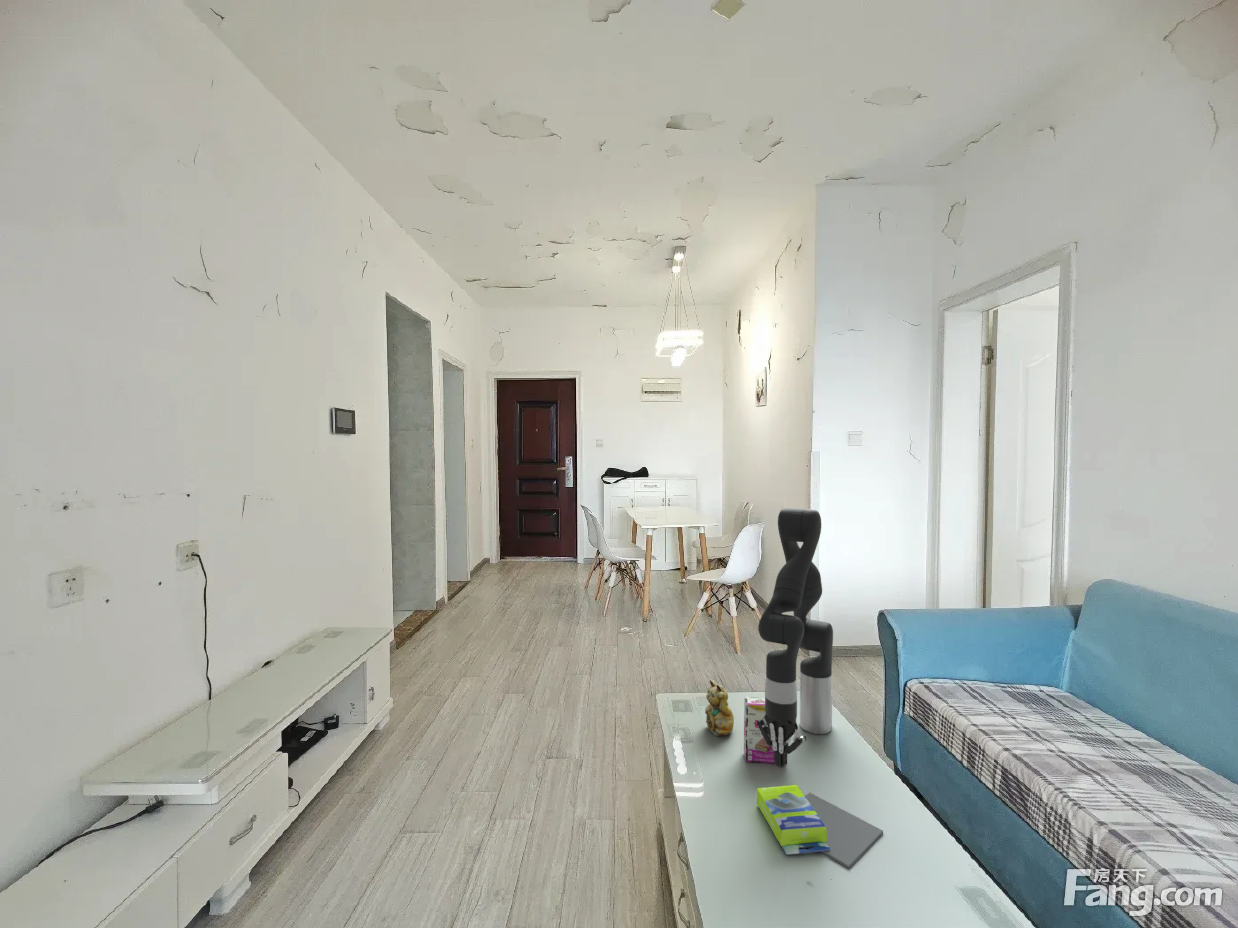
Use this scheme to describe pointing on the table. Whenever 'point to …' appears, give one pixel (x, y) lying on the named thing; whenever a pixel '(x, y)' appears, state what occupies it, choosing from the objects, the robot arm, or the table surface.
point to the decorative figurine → (718, 711)
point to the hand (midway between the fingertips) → (780, 765)
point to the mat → (844, 832)
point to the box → (792, 819)
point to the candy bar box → (755, 732)
